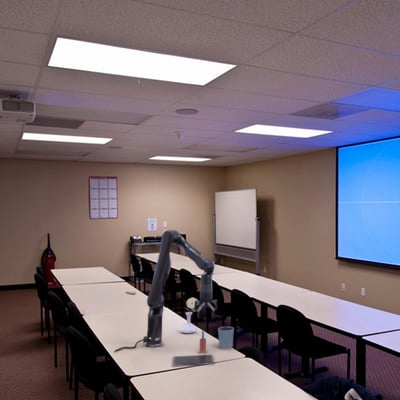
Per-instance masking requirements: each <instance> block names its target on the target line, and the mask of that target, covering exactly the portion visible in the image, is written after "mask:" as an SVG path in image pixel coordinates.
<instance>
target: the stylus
mask: <svg viewBox="0 0 400 400" xmlns="http://www.w3.org/2000/svg"><path fill="white" fill-rule="evenodd" d="M201 339H202V340H204V339H205V329H202V331H201Z"/></svg>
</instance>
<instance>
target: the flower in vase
mask: <svg viewBox="0 0 400 400" xmlns="http://www.w3.org/2000/svg"><path fill="white" fill-rule="evenodd" d="M195 300H196V301H198V299H197V298H195V297H190V298H188V299H187V300H186V303H185V304H186V307H187V308H186V310H187V312H185V315H186V323H185V324H184V325H183V326H182V327H181V328H180V332H181V333H183V334H193V333H195V332H197V327H196V326H194V325H193V324H192V323H191V318H192V314H193V312H194V313H195V312H196V313H197V311H195V310H194V307H195ZM190 309H191V310H190Z"/></svg>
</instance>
